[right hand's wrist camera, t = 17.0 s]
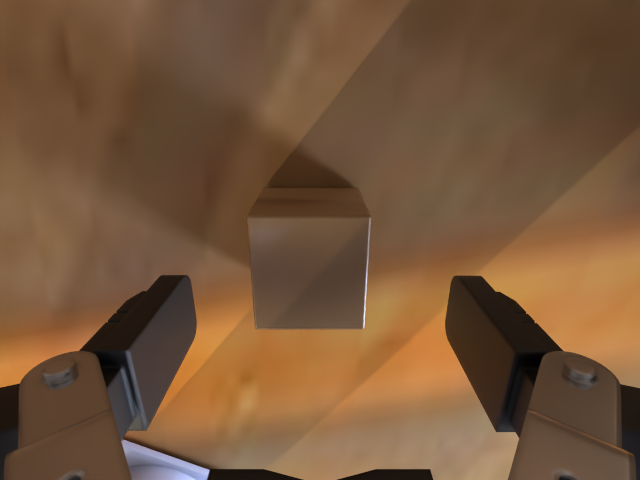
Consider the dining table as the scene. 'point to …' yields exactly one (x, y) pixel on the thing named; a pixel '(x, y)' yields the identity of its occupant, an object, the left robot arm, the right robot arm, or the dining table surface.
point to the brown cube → (309, 258)
